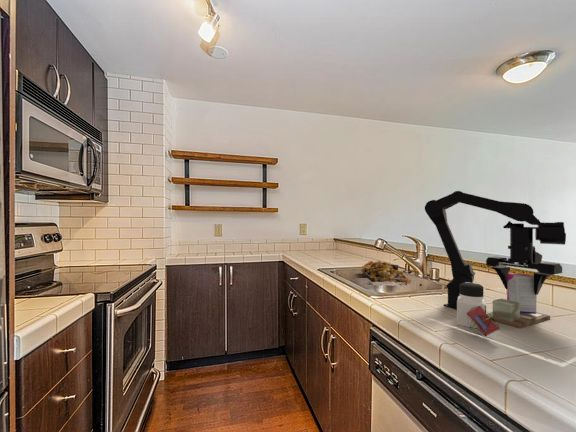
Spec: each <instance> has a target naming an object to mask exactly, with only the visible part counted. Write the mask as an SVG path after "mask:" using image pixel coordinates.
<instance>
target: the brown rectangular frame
mask: <svg viewBox="0 0 576 432" xmlns="http://www.w3.org/2000/svg"><path fill="white" fill-rule="evenodd" d="M488 313H489V314H490V315H493V314H495V313H496V314H495V315H494V316H495V317H494V316H493V318H492V319H491V320H492V321H493V322H496V323H500V324H504V325H508V326H511V327H514V328H517V329H522V328H525V327H528V326H532V325H535V324H537V323H541V322H544V321H547V320H550V319H551V315H550V314H546V313H541V312H538V311H536V314H527V313H520V302H515V301H511V300H507V298H498V299H494V300H492V312H491V313H490V312H488ZM488 313H486V314H487V315H488V316H490V315H489V314H488ZM493 319H494V320H495V321H494V320H493ZM497 320H498V321H497Z"/></svg>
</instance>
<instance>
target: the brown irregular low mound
mask: <svg viewBox="0 0 576 432" xmlns="http://www.w3.org/2000/svg"><path fill="white" fill-rule="evenodd" d="M360 271H361V272H362V275H363V276H364V277H365V278H366V279H367V280H369V281H368V282H366V284H367V286H368V285H371V286H393V287H394V286H405V285H406V286H408V284H410V283H412V280H411V279H409V277H407V276H406V275H404V272H403V271H402V270H400V269H399V264H391V263H390V262H387V261H383V262H382V261H381V260H377V261H373V260H370V261H368V262H367V263H365V264H364V265H362V266H361V269H360ZM419 286H421V287H422V286H423V283H419Z"/></svg>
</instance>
